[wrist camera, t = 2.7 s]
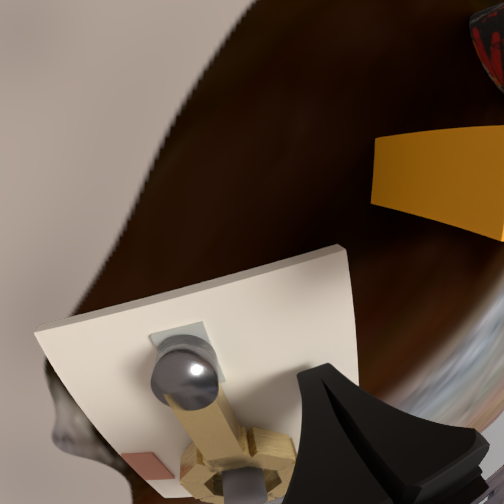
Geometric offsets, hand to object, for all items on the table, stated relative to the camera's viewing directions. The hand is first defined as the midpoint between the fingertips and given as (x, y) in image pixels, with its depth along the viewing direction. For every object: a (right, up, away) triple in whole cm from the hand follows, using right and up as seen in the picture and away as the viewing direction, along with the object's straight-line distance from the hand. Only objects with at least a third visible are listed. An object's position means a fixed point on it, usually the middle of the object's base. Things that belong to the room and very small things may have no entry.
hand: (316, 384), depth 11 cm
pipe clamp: (+8, +9, +1) cm, 12 cm away
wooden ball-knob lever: (-4, -3, +1) cm, 5 cm away
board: (-4, -3, +2) cm, 5 cm away
